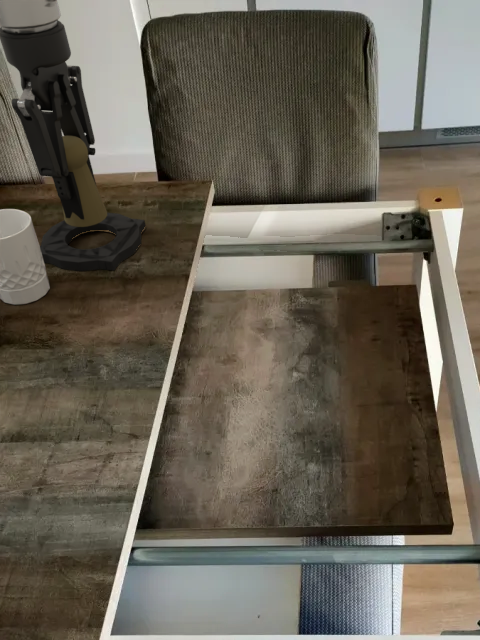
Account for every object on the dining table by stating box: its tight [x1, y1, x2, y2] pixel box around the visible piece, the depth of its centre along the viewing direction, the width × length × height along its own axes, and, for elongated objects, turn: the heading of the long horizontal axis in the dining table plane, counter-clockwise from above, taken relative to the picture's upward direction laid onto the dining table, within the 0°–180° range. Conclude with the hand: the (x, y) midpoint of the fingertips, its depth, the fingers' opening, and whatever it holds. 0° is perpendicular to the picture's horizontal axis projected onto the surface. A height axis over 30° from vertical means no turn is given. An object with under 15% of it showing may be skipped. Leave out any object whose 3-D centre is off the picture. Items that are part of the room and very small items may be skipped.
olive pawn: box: [61, 135, 108, 227], centre depth 91 cm, size 6×6×11 cm
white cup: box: [0, 208, 51, 306], centre depth 86 cm, size 8×8×10 cm
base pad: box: [40, 212, 147, 272], centre depth 97 cm, size 14×14×2 cm
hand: (83, 208), depth 94 cm, fingers closed on olive pawn, 4 cm apart
